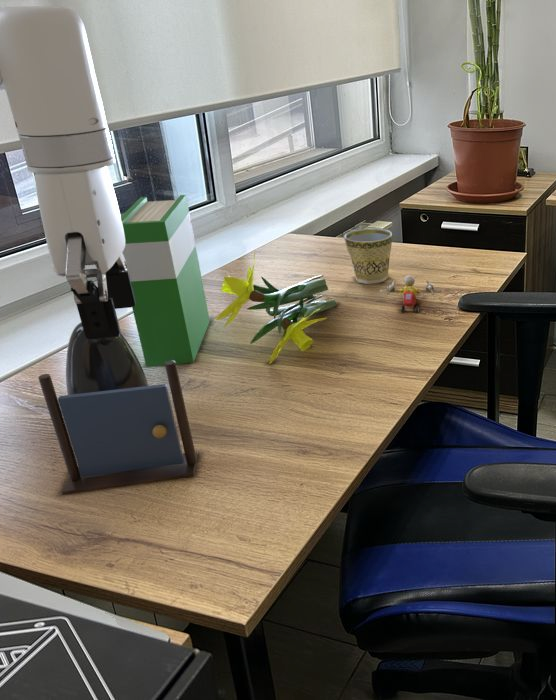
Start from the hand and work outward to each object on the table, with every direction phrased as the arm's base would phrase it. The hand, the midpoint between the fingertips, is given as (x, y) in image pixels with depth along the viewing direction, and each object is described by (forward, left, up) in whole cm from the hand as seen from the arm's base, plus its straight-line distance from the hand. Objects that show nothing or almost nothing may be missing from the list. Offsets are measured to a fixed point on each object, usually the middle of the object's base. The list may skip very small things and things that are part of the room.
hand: (112, 320), depth 75 cm
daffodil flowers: (+16, +43, -23) cm, 51 cm away
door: (-3, +4, -22) cm, 22 cm away
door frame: (-3, +5, -23) cm, 24 cm away
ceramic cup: (+34, +70, -23) cm, 81 cm away
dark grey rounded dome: (-9, +21, -23) cm, 32 cm away
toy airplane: (+39, +52, -23) cm, 69 cm away
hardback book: (-3, +45, -23) cm, 51 cm away
